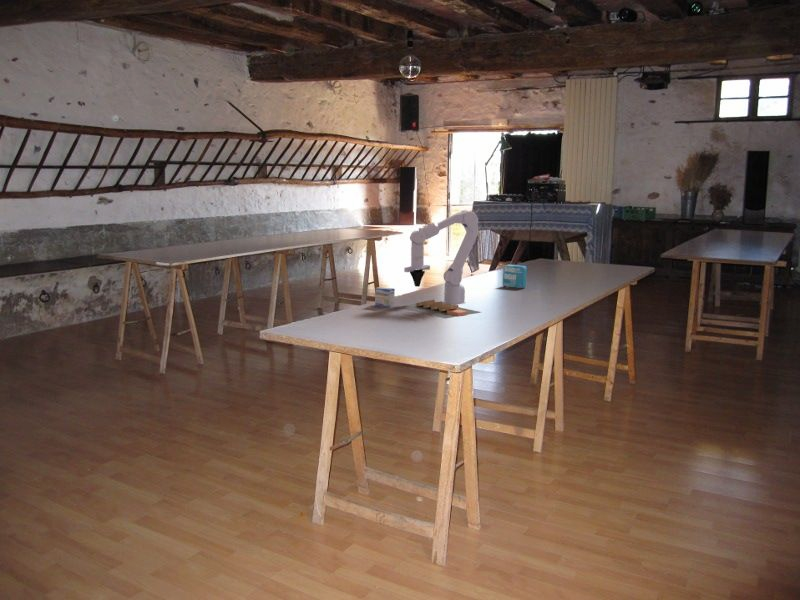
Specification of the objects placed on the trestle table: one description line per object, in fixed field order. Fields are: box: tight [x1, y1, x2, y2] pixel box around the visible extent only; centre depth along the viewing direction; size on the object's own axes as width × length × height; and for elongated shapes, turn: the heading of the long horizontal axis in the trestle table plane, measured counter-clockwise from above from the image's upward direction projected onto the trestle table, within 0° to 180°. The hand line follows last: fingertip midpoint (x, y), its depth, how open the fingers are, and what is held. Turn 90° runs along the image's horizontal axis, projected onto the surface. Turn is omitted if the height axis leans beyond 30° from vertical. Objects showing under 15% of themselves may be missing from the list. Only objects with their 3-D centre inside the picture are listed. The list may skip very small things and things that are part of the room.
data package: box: [502, 264, 528, 289], centre depth 371 cm, size 12×4×12 cm, turn 58°
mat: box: [397, 303, 482, 319], centre depth 305 cm, size 22×32×1 cm
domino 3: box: [431, 303, 450, 310], centre depth 302 cm, size 2×5×7 cm
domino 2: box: [423, 301, 443, 308], centre depth 306 cm, size 2×5×7 cm
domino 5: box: [447, 309, 467, 317], centre depth 295 cm, size 2×5×7 cm
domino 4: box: [439, 304, 460, 312], centre depth 298 cm, size 2×5×7 cm
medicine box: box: [374, 286, 396, 308], centre depth 311 cm, size 8×4×9 cm, turn 62°
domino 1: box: [415, 299, 436, 306], centre depth 310 cm, size 2×5×7 cm
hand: (417, 286), depth 316 cm, fingers closed
